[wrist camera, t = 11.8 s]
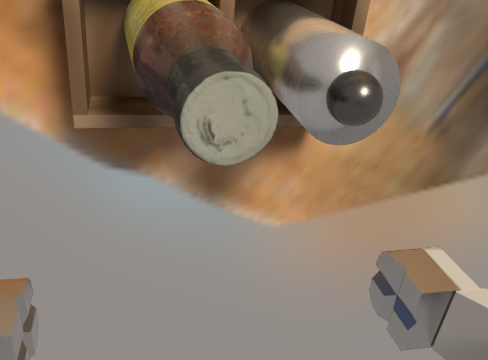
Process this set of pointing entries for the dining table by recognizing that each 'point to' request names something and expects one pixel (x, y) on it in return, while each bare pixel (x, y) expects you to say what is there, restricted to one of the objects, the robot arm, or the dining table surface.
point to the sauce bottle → (201, 78)
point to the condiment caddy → (121, 68)
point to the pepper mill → (322, 71)
